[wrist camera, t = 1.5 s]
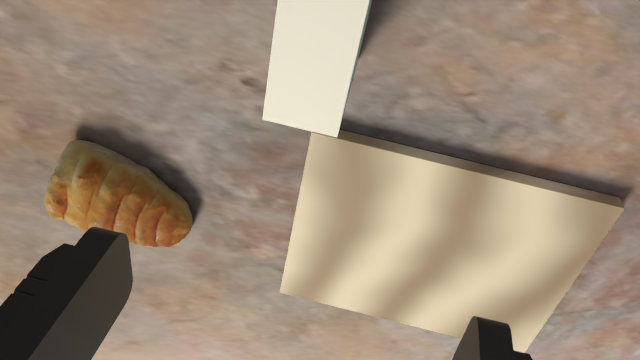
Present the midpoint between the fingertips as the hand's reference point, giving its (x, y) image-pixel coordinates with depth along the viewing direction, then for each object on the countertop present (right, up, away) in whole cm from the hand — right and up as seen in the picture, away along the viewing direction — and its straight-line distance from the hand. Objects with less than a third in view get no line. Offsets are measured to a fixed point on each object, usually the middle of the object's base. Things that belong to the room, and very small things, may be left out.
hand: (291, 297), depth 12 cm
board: (+8, -2, +23) cm, 24 cm away
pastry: (-13, +3, +25) cm, 28 cm away
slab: (+2, +13, +14) cm, 19 cm away
